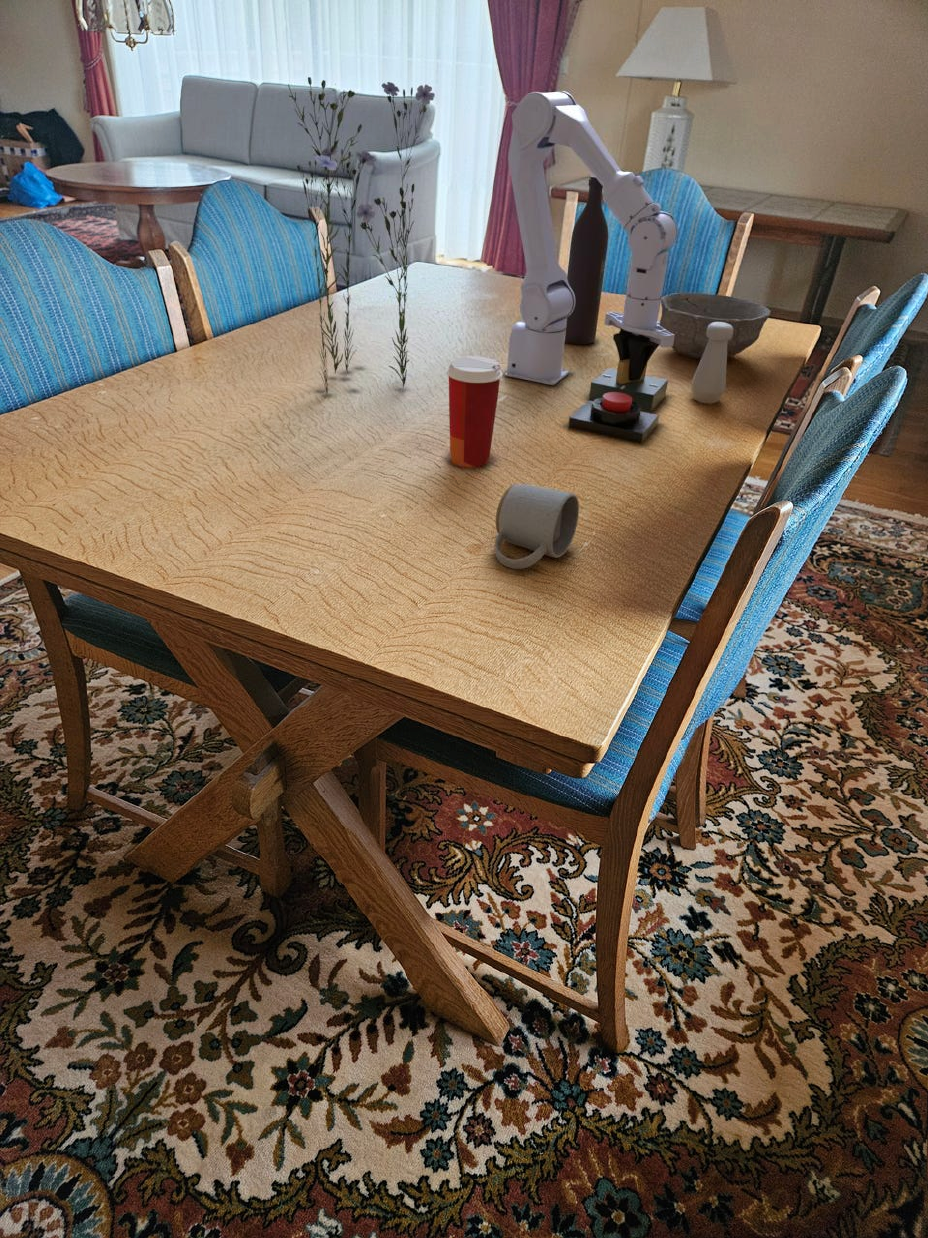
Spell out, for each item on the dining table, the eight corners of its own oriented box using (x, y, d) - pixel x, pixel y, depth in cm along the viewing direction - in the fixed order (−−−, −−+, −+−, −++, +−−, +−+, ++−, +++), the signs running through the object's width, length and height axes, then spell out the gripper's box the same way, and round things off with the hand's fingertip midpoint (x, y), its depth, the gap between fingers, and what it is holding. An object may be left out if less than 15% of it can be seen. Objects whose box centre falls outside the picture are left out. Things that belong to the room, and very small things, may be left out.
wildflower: (278, 397, 141) (254, 73, 116) (329, 356, 159) (317, 68, 134) (410, 415, 137) (414, 84, 112) (446, 371, 156) (456, 78, 130)
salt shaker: (722, 407, 147) (740, 330, 140) (689, 403, 148) (704, 326, 141) (721, 395, 152) (738, 320, 145) (688, 392, 153) (703, 317, 145)
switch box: (568, 427, 136) (570, 406, 134) (587, 410, 143) (589, 389, 141) (641, 443, 132) (645, 422, 130) (657, 425, 139) (661, 404, 137)
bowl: (770, 354, 174) (783, 303, 168) (739, 380, 159) (752, 326, 153) (673, 334, 182) (682, 285, 177) (635, 357, 168) (644, 305, 162)
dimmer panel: (588, 399, 147) (590, 381, 145) (606, 383, 154) (608, 366, 152) (650, 413, 143) (653, 394, 141) (665, 395, 150) (669, 378, 149)
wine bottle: (596, 346, 173) (618, 180, 156) (561, 344, 172) (580, 178, 156) (592, 335, 178) (613, 174, 161) (558, 334, 178) (576, 172, 161)
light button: (597, 409, 135) (599, 398, 134) (606, 400, 138) (608, 389, 137) (625, 415, 133) (627, 404, 132) (634, 406, 137) (636, 395, 136)
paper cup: (502, 454, 126) (510, 359, 118) (486, 474, 120) (493, 376, 112) (452, 444, 128) (456, 351, 120) (434, 464, 122) (437, 367, 114)
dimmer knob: (620, 384, 145) (624, 361, 143) (615, 381, 146) (618, 359, 144) (644, 379, 148) (648, 357, 146) (639, 377, 149) (642, 354, 147)
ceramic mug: (517, 523, 108) (521, 468, 104) (576, 541, 105) (584, 485, 101) (476, 560, 101) (479, 502, 96) (539, 581, 98) (546, 521, 93)
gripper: (693, 303, 136) (677, 387, 144) (631, 282, 146) (619, 362, 153) (661, 308, 133) (646, 394, 140) (600, 286, 142) (589, 367, 150)
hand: (630, 378), depth 147 cm, fingers closed on dimmer knob
